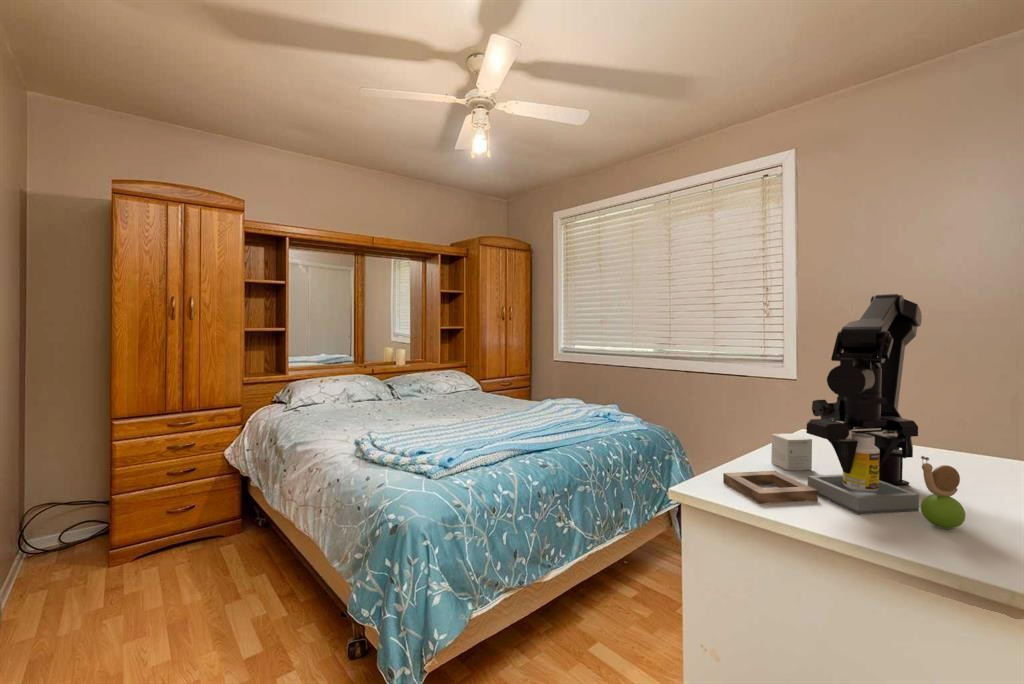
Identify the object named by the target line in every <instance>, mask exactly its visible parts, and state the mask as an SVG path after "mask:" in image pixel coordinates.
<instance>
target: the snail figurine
mask: <svg viewBox="0 0 1024 684" xmlns="http://www.w3.org/2000/svg"><path fill="white" fill-rule="evenodd" d="M920 458H921V459H922V460H925V461H926V462H923V463H922V465H921V470H922V471H923V480H924V483H925V487H926V489H927V490H928V492H930V493H931V494H930V495H928V496H926V497H924V499H923V500H922V501H921V504H920V510H921V511H920V512H921V514H922V515H923V517H924V518H925V520H926V521H928V523H930V524H931V525H933V526H935V527H937V528H941V529H944V530H945V529H947V530H949V529H956V528H958V527H961V525H963V523H964V522H965V521H966V510H965V508H964V507H963V505H962V504H961V502H959V501H958V500H956V498H954V497H952V496H954V495H955V494H956V493H958V490H959V489H958V487H959V485H960V482H961V476H960V474H959V471H958V470H957V469H956V468H955V467H953V466H952V465H951V466H950V465H946V464H943V465H940V466H936V467H935V468H934V469H933V465H932V464H931V463H928V461H930V458H929V457H928V456H925V455H922V456H920Z"/></svg>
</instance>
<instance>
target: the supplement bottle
mask: <svg viewBox="0 0 1024 684" xmlns="http://www.w3.org/2000/svg"><path fill="white" fill-rule="evenodd" d="M852 439H853V440H856V441H858V444H857V448H856V452H855V456H854V461H853V465H852V468H851V471H850V473H849V474H847V473H845V472H843V471H842V474H843V484H844V485H845V486H846V487H847V488H849V489H852V490H856V491H860V492H876V491H877V490H878V489H879V463H880V450H879V448H878V447H876V446H874V445H875V437H874V436H872V435H868V434H860V433H852Z"/></svg>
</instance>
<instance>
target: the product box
mask: <svg viewBox="0 0 1024 684" xmlns="http://www.w3.org/2000/svg"><path fill="white" fill-rule="evenodd" d="M770 461H771V464H772V465H775V466H777V467H780V468H782V469H784V470H786V471H787V472H791V471H811V470H812V469H813V467H812V466H813V464H812V462H813V439H812V438H810V437H808V436H807V437H806V436H804V435H800V434H799V433H772V434H771V457H770Z"/></svg>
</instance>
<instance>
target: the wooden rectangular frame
mask: <svg viewBox="0 0 1024 684" xmlns="http://www.w3.org/2000/svg"><path fill="white" fill-rule="evenodd" d="M722 474H723V483H724V484H725V483H726V484H725V485H727V486H728V487H730V486H731V488H732V489H734V490H735V489H736V490H735V491H737V492H739V493H740V492H741V493H740V494H742V495H743V496H746V497H748V498H749V499H750V500H752V501H754V502H756V503H758V504H760V505H762V504H779V503H780V504H781V503H795V502H796V503H798V502H799V503H800V502H809V501H810V502H814V501H817V502H818V500H819V498H818V497H819V496H818V490H816V489H814V488H812V487H810V486H808V484H805V483H804V482H801V481H799V480H797V479H795V478H792V477H790V476H788V475H785V474H784V473H782V472H779V471H777V470H763V471H762V470H761V471H760V470H759V471H739V472H724V473H722ZM768 484H769V485H771V484H772V485H775V486H776V487H773V488H772V487H771V488H763V487H761V486H760V485H768ZM758 485H759V486H758Z"/></svg>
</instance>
